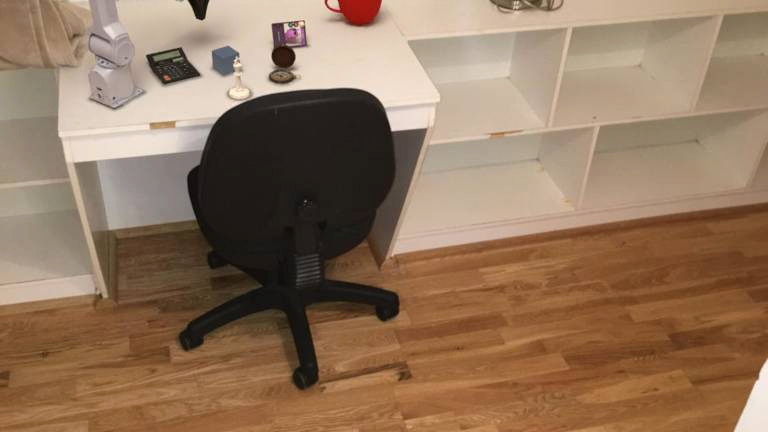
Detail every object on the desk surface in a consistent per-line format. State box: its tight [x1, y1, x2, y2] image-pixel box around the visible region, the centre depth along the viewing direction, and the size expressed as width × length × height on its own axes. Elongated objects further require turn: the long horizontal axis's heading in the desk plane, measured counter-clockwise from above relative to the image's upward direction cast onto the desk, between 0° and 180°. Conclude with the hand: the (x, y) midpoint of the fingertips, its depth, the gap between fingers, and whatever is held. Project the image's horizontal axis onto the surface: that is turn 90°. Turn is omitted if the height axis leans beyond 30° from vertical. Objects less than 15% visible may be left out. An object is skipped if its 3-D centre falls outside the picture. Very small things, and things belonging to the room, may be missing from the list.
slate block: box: [211, 45, 241, 76], centre depth 199 cm, size 5×5×5 cm
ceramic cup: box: [324, 0, 383, 27], centre depth 222 cm, size 13×17×10 cm
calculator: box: [145, 46, 201, 86], centre depth 197 cm, size 9×12×3 cm
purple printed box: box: [270, 19, 308, 49], centre depth 212 cm, size 7×5×9 cm
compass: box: [268, 44, 302, 85], centre depth 197 cm, size 8×8×7 cm
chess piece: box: [228, 57, 250, 100], centre depth 188 cm, size 5×5×10 cm
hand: (200, 18), depth 201 cm, fingers closed
